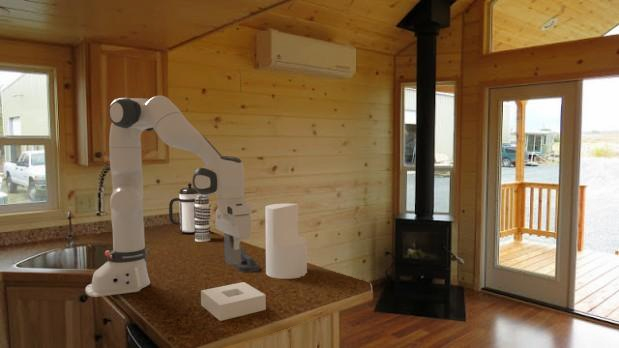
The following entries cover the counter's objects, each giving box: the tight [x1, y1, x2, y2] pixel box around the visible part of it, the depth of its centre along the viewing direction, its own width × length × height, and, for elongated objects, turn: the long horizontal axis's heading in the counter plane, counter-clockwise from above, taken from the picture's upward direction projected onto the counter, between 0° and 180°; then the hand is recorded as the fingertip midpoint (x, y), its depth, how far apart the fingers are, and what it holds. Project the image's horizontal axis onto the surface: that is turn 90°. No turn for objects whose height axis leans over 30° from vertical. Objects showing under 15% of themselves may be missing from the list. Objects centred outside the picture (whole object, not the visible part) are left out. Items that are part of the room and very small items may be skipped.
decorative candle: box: [194, 195, 212, 243], centre depth 245 cm, size 9×9×25 cm
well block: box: [200, 281, 267, 322], centre depth 147 cm, size 16×16×5 cm
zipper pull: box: [222, 245, 260, 273], centre depth 198 cm, size 9×7×25 cm
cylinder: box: [264, 203, 308, 280], centre depth 185 cm, size 17×17×28 cm
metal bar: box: [223, 232, 242, 266], centre depth 146 cm, size 4×4×10 cm
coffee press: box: [168, 182, 201, 236], centre depth 263 cm, size 17×16×30 cm
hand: (232, 247), depth 146 cm, fingers closed on metal bar, 4 cm apart
